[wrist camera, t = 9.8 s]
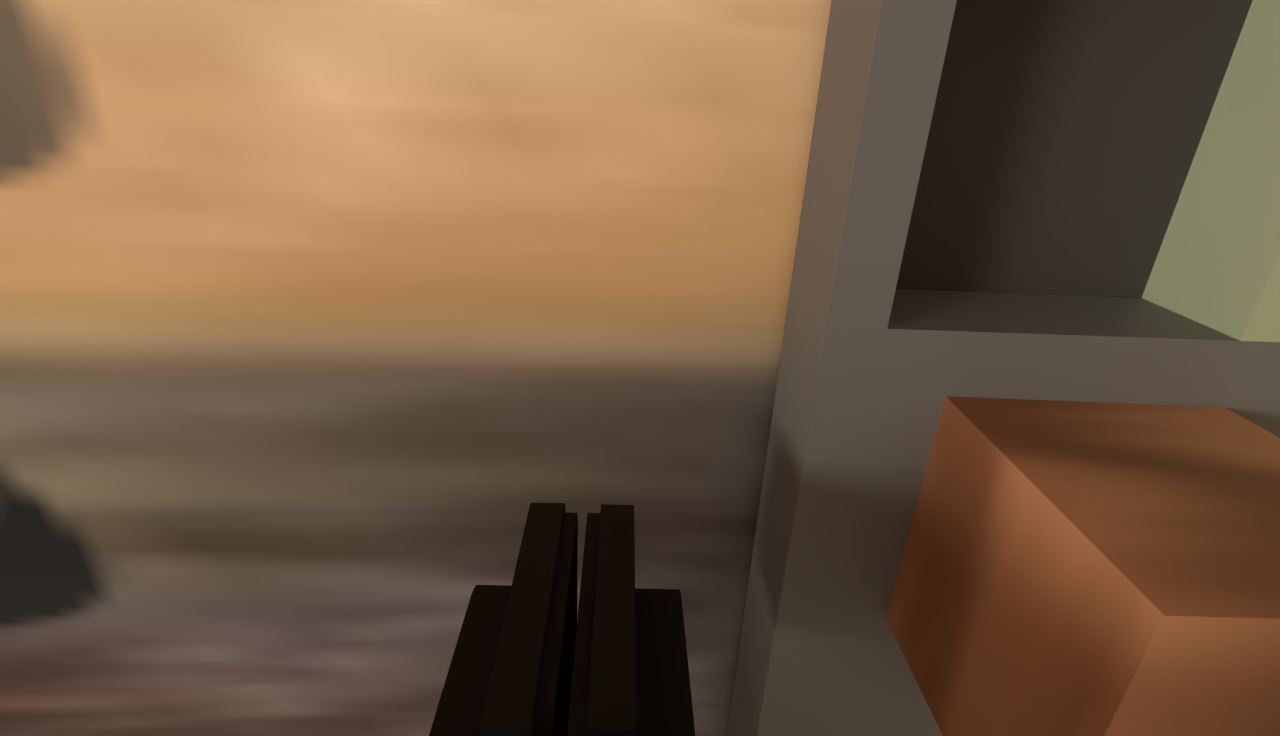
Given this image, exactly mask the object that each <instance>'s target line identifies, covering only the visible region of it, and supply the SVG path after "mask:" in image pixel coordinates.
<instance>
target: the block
mask: <svg viewBox="0 0 1280 736" xmlns="http://www.w3.org/2000/svg"><path fill="white" fill-rule="evenodd" d="M885 617H886V619H887V621H888V623H889V625H890V627H891V629H892V631H893V633H894V635H895V638H896V640H897V642H898V644H899V646H900V648H901V650H902V652H903V654H904V656H905V658H906V660H907V662H908V665H909V667H910V669H911V671H912V673H913V675H914V677H915V679H916V681H917V683H918V685H919V687H920V690H921V692H922V694H923V696H924V698H925V700H926V702H927V704H928V706H929V708H930V710H931V712H932V714H933V717H934V719H935V721H936V723H937V725H938V727H939V729H940V731H941V733H942V735H943V736H1280V438H1279V437H1277V436H1276V435H1274V434H1272V433H1270V432H1268V431H1267V430H1265V429H1263V428H1261V427H1259V426H1258V425H1256V424H1254V423H1252V422H1250V421H1249V420H1247V419H1245V418H1243V417H1241V416H1240V415H1238V414H1236V413H1234V412H1232V411H1231V410H1229V409H1227V408H1225V407H1202V406H1177V405H1152V404H1127V403H1103V402H1078V401H1053V400H1028V399H1003V398H978V397H954V396H946V397H945V401H944V404H943V408H942V412H941V415H940V419H939V423H938V426H937V430H936V433H935V437H934V441H933V444H932V448H931V452H930V455H929V459H928V463H927V466H926V470H925V473H924V477H923V481H922V484H921V488H920V492H919V495H918V499H917V503H916V506H915V510H914V514H913V517H912V521H911V524H910V528H909V532H908V535H907V539H906V543H905V546H904V550H903V554H902V557H901V561H900V565H899V568H898V572H897V575H896V579H895V583H894V586H893V590H892V594H891V597H890V601H889V605H888V608H887V612H886V615H885Z"/></svg>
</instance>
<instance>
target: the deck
mask: <svg viewBox="0 0 1280 736" xmlns="http://www.w3.org/2000/svg"><path fill="white" fill-rule="evenodd" d="M946 396H954V397H978V398H1003V399H1028V400H1053V401H1078V402H1103V403H1127V404H1152V405H1177V406H1202V407H1225V408H1227V409H1229V410H1231V411H1232V412H1234V413H1236V414H1238V415H1240V416H1241V417H1243V418H1245V419H1247V420H1249V421H1250V422H1252V423H1254V424H1256V425H1258V426H1259V427H1261V428H1263V429H1265V430H1267V431H1268V432H1270V433H1272V434H1274V435H1276V436H1277V437H1279V438H1280V0H832V2H831V9H830V16H829V23H828V30H827V37H826V44H825V51H824V58H823V65H822V72H821V79H820V86H819V93H818V100H817V107H816V114H815V121H814V128H813V135H812V142H811V149H810V156H809V162H808V169H807V176H806V183H805V190H804V197H803V204H802V211H801V218H800V225H799V232H798V239H797V246H796V253H795V260H794V267H793V274H792V281H791V288H790V295H789V302H788V309H787V316H786V323H785V330H784V337H783V344H782V351H781V358H780V365H779V372H778V379H777V386H776V392H775V399H774V406H773V413H772V420H771V427H770V434H769V441H768V448H767V455H766V462H765V469H764V476H763V483H762V490H761V497H760V504H759V511H758V518H757V525H756V532H755V539H754V546H753V553H752V560H751V567H750V574H749V581H748V588H747V595H746V602H745V609H744V616H743V622H742V629H741V636H740V643H739V650H738V657H737V664H736V671H735V678H734V685H733V692H732V699H731V706H730V713H729V720H728V727H727V734H726V736H943V735H942V733H941V731H940V729H939V727H938V725H937V723H936V721H935V719H934V717H933V714H932V712H931V710H930V708H929V706H928V704H927V702H926V700H925V698H924V696H923V694H922V692H921V690H920V687H919V685H918V683H917V681H916V679H915V677H914V675H913V673H912V671H911V669H910V667H909V665H908V662H907V660H906V658H905V656H904V654H903V652H902V650H901V648H900V646H899V644H898V642H897V640H896V638H895V635H894V633H893V631H892V629H891V627H890V625H889V623H888V621H887V619H886V617H885V615H886V612H887V608H888V605H889V601H890V597H891V594H892V590H893V586H894V583H895V579H896V575H897V572H898V568H899V565H900V561H901V557H902V554H903V550H904V546H905V543H906V539H907V535H908V532H909V528H910V524H911V521H912V517H913V514H914V510H915V506H916V503H917V499H918V495H919V492H920V488H921V484H922V481H923V477H924V473H925V470H926V466H927V463H928V459H929V455H930V452H931V448H932V444H933V441H934V437H935V433H936V430H937V426H938V423H939V419H940V415H941V412H942V408H943V404H944V401H945V397H946Z"/></svg>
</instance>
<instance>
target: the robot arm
mask: <svg viewBox="0 0 1280 736" xmlns="http://www.w3.org/2000/svg"><path fill="white" fill-rule="evenodd" d="M577 538H578V515H577V513H567V512H565V503H531V504H530V508H529V512H528V517H527V521H526V525H525V530H524V534H523V539H522V543H521V547H520V552H519V556H518V560H517V565H516V569H515V574H514V578H513V582H512V586H501V585H476V587H475V588H474V590H473V593H472V595H471V598H470V601H469V605H468V608H467V611H466V615H465V618H464V621H463V625H462V628H461V631H460V635H459V638H458V641H457V645H456V648H455V651H454V655H453V658H452V661H451V665H450V668H449V671H448V675H447V678H446V681H445V685H444V688H443V691H442V694H441V698H440V701H439V704H438V708H437V711H436V714H435V718H434V721H433V724H432V728H431V731H430V734H429V736H695V729H694V719H693V709H692V699H691V690H690V680H689V670H688V660H687V650H686V640H685V630H684V620H683V610H682V600H681V593H680V590H676V589H635V547H634V505H604V504H601V513H588V515H587V525H586V536H585V546H584V557H583V568H582V578H581V589H580V600H579V611H578V621H577Z"/></svg>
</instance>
